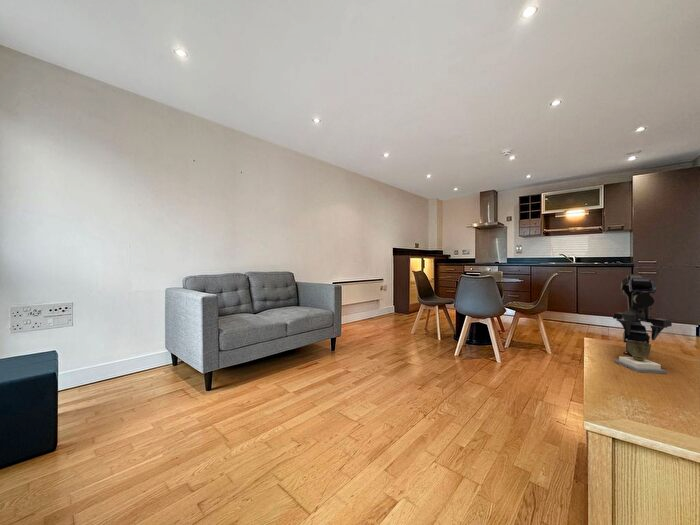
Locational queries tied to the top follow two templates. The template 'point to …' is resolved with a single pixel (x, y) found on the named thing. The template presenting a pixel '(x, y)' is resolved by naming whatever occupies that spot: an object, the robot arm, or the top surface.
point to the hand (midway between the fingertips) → (640, 337)
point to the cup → (638, 350)
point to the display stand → (640, 365)
